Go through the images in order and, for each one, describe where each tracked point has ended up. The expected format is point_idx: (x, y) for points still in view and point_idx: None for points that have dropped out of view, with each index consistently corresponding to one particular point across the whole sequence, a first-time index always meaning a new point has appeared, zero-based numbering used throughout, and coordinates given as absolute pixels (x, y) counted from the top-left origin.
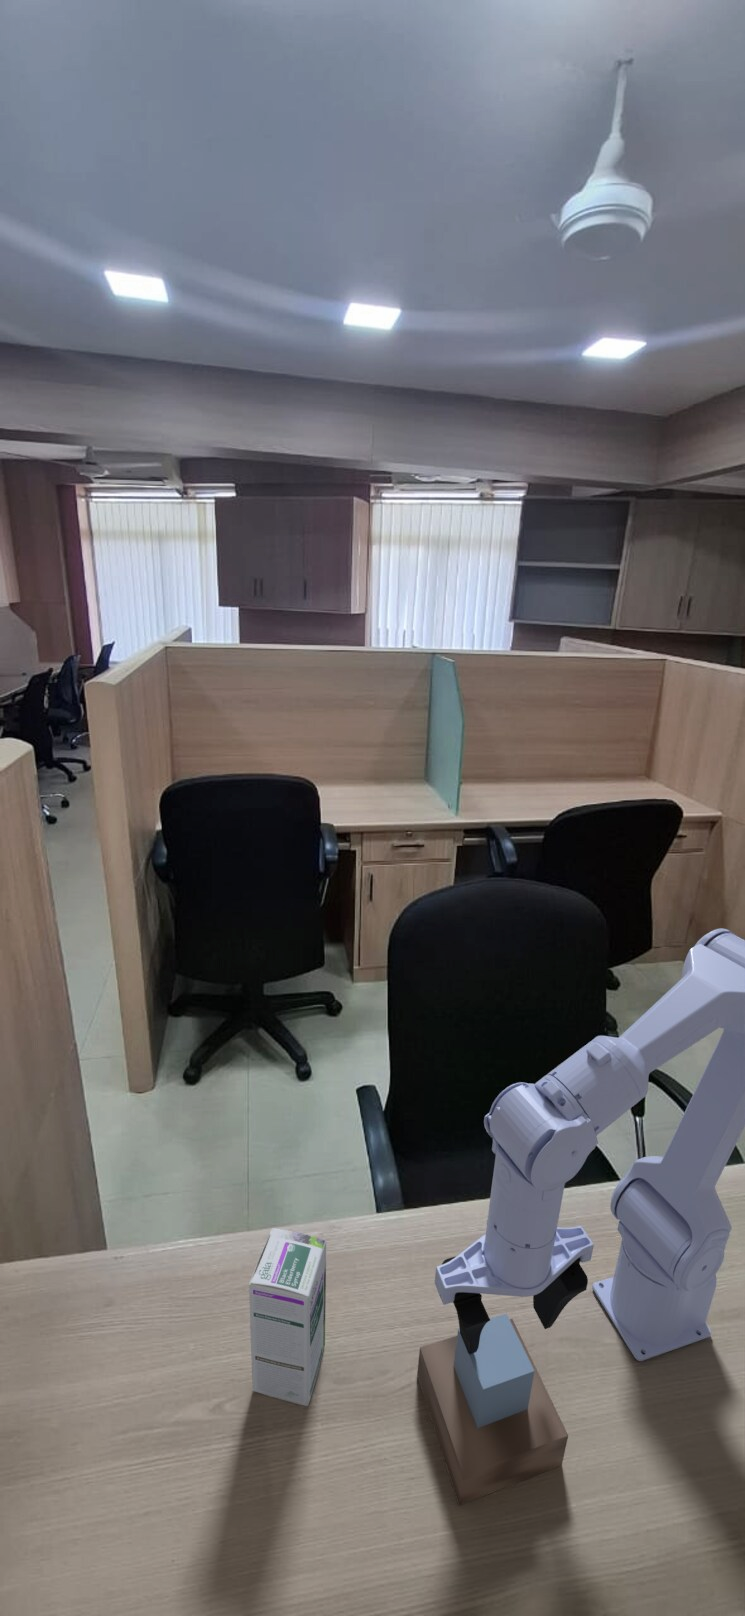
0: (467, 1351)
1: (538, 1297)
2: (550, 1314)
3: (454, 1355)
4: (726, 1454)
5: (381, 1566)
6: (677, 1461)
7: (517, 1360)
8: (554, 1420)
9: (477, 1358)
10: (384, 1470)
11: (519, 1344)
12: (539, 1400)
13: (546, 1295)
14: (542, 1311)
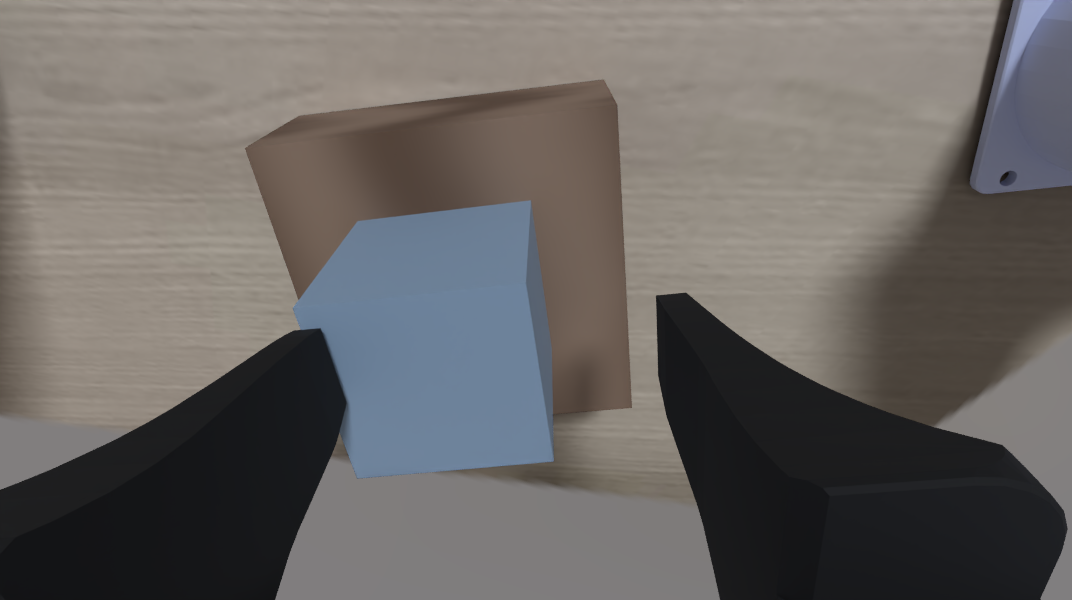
0: None
1: (677, 359)
2: (683, 459)
3: (365, 192)
4: (992, 379)
5: None
6: (875, 373)
7: (504, 431)
8: (612, 379)
9: (354, 407)
10: (213, 292)
11: (533, 389)
12: (594, 337)
13: (700, 452)
14: (669, 383)
